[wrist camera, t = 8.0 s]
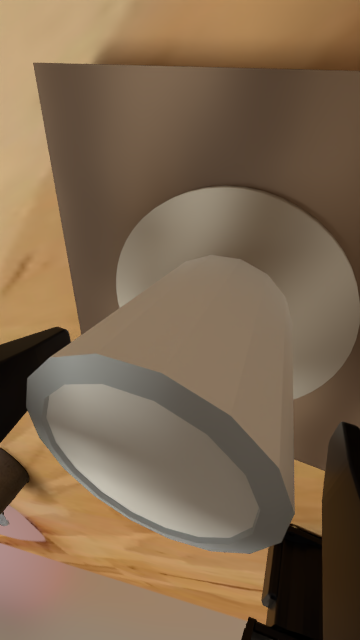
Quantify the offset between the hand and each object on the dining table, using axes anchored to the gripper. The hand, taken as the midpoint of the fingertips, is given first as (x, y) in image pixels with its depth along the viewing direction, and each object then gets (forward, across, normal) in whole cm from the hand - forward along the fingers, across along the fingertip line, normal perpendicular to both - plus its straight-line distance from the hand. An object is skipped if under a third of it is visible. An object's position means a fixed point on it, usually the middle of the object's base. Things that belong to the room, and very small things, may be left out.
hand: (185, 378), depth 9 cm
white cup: (+4, 0, 0) cm, 4 cm away
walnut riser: (+7, 0, 0) cm, 7 cm away
